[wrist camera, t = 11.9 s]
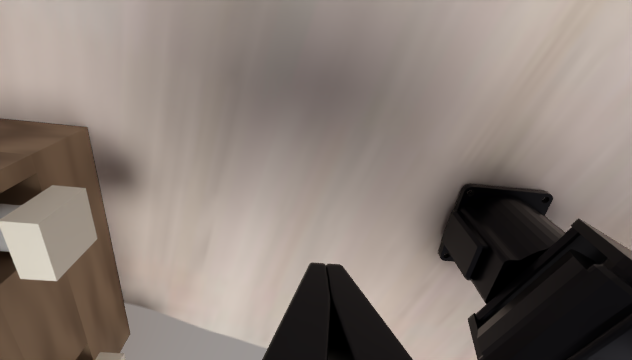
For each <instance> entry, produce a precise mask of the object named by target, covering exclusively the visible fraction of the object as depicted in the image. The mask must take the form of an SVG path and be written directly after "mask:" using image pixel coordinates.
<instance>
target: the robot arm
mask: <svg viewBox="0 0 632 360" xmlns="http://www.w3.org/2000/svg"><path fill="white" fill-rule="evenodd" d="M469 190H472V191H471V192H470V193H467V192H468V191H469ZM543 198H544V199H543ZM542 199H543V200H542ZM552 200H553V196H552V195H551V194H549V193H548V192H546V191H538V190H528V189H517V188H507V187H496V186H486V185H476V184H467V185H465V186H464V187H463V188H462V189H461V192H460V194H459V197H458V200H457V203H456V205H455V208H454V211H453V212H452V213H451V215H450V218H449V221H448V223H447V226H446V229H445V232H444V234H443V237H442V244H441V246H440V249H439V252H438V254H439V256H440V258H441V259H442V260H444V261H455V263H456V264H457V266H458V268H459V269H460V271H461V272H462V274H463V276H464V277H465V278H466V279H467V280H471V281H472V282H473V284H474V286H475V287H476V289H477V290H478V292H479V293H480V295H481V297H482V298H483V300H484V301H485V303H486V305H485V306H484V307H483V308H482V309H481V310H480V311H479V312H477V313H476V314H475V313H474V314H473V315H471V316H470V317H469V318H468V322H469V326H470V331H471V335H472V339H473V343H474V347H475V351H476V355H477V359H478V360H632V251H631V250H630V249H628V248H626V247H625V246H623V245H621V244H620V243H618V242H617V241H615V240H613V239H612V238H610V237H608V236H607V235H605V234H603V233H602V232H600V231H599V230H597V229H595V228H594V227H592V226H590V225H589V224H587V223H586V222H584V221H582V220H581V219H577V220H576V221H575V222H574V223H573V224H572V225H571V226H572V228H571V229H570V230H568V231H567V232H566V233H565V232H564V231H563V230H561V229H560V228H559V227H558V226H556V225H555V224H554V223H553V222H552V221H550V220H549V219H548V218H547V217H546V216H545V214H546V212H547V210H548V208H549V206H550V204H551V202H552ZM445 253H447V254H446V255H444V254H445ZM262 360H413V359H412V358H411V357H410V355H409V354H408V353H407V351H406V350H405V349H404V347H403V346H402V345H401V343H400V342H399V341H398V339H397V338H396V337H395V335H394V334H393V333H392V331H391V330H390V329H389V327H388V326H387V325H386V323H385V322H384V321H383V319H382V318H381V317H380V315H379V314H378V313H377V311H376V310H375V309H374V307H373V306H372V305H371V303H370V302H369V301H368V299H367V298H366V297H365V295H364V294H363V293H362V291H361V290H360V289H359V287H358V286H357V285H356V283H355V282H354V281H353V279H352V278H351V277H350V275H349V274H348V273H347V271H346V270H345V269H344V267H343V266H342V265H339V264H327V265H325V264H324V263H310V264H309V266H308V268H307V270H306V272H305V274H304V276H303V278H302V280H301V282H300V284H299V286H298V288H297V290H296V292H295V294H294V297H293V299H292V301H291V303H290V305H289V307H288V309H287V311H286V313H285V315H284V317H283V319H282V321H281V323H280V325H279V327H278V329H277V331H276V333H275V335H274V337H273V339H272V341H271V343H270V345H269V347H268V349H267V351H266V353H265V355H264V357H263V359H262Z"/></svg>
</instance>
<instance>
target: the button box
mask: <svg viewBox="0 0 632 360" xmlns="http://www.w3.org/2000/svg"><path fill="white" fill-rule="evenodd" d="M52 185H56V186H67V187H79V188H86V192H87V196H88V200H89V205H90V209H91V213H92V218H93V222H94V226H95V230H96V235H97V240H96V241H95V242H94V243H93V244H92V245H91V246H90V247H89V248H88V249H87V250H86V251H85V252H84V253H83V254H82V256H81V257H80V258H79V259H78V260H77V261H76V262H75V263H74V264H73V265H72V266H71V267H70V268H69V269H68V270H67V271H66V272H65V273H64V274H63V275H62V276H61V277H60V279H59V280H58V281H45V280H30V279H20V277H19V275H18V272H17V270H16V267H15V264H14V262H13V259H12V257H11V254H10V252H7V251H0V360H95V359H96V358H97V356H98V354H99V353H100V352H105V353H120V351H121V349H122V347H123V346H124V344H125V342H126V341H127V339H128V337H129V335H130V330H129V325H128V321H127V316H126V312H125V306H124V301H123V296H122V292H121V287H120V282H119V277H118V273H117V268H116V263H115V258H114V254H113V249H112V244H111V239H110V235H109V230H108V225H107V220H106V215H105V211H104V206H103V201H102V196H101V192H100V187H99V182H98V177H97V173H96V168H95V163H94V158H93V153H92V149H91V144H90V139H89V134H88V130H87V127H79V126H69V125H59V124H49V123H39V122H29V121H19V120H9V119H0V204H10V205H23V204H24V203H26V202H27V201H29V200H30V199H32V198H34V197H35V196H37V195H38V194H40V193H41V192H43V191H44V190H46V189H47V188H49V187H50V186H52Z"/></svg>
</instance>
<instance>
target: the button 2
mask: <svg viewBox="0 0 632 360" xmlns="http://www.w3.org/2000/svg"><path fill="white" fill-rule="evenodd" d="M95 360H125V356H124V353H105V352H100V353H99V354H98V356H97V358H96V359H95Z"/></svg>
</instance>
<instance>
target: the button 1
mask: <svg viewBox="0 0 632 360" xmlns="http://www.w3.org/2000/svg"><path fill="white" fill-rule="evenodd" d="M96 240H97V235H96V230H95V226H94V222H93V218H92V213H91V209H90V205H89V200H88V196H87V192H86V188H79V187H67V186H56V185H52V186H50V187H49V188H47V189H46V190H44V191H43V192H41V193H40V194H38V195H37V196H35V197H34V198H32V199H30V200H29V201H27V202H26V203H24V204H23V205H10V204H0V251H7V252H10V254H11V257H12V259H13V262H14V264H15V267H16V270H17V272H18V275H19V277H20V279H30V280H45V281H58V280H59V279H60V277H61V276H62V275H63V274H64V273H65V272H66V271H67V270H68V269H69V268H70V267H71V266H72V265H73V264H74V263H75V262H76V261H77V260H78V259H79V258H80V257H81V256H82V254H83V253H84V252H85V251H86V250H87V249H88V248H89V247H90V246H91V245H92V244H93V243H94V242H95V241H96Z"/></svg>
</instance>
